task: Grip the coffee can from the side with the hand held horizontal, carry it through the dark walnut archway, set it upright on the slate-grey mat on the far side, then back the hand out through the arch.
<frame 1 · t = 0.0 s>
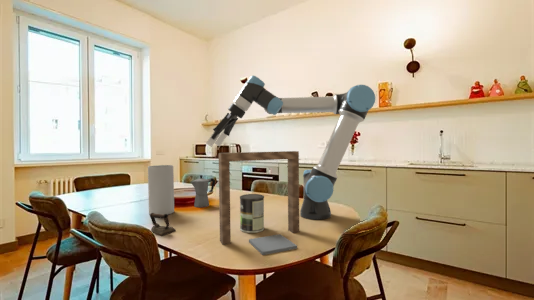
hand: (213, 145, 124), 36 cm above the table, tool tilted 35°, fingers open, 13 cm apart
clothes iron: (160, 232, 113), on the table
cylinder vase: (161, 213, 143), on the table
walnut archway: (261, 236, 105), on the table
coffee can: (252, 229, 114), on the table
slate mat: (272, 245, 96), on the table
coffeepot: (203, 205, 160), on the table
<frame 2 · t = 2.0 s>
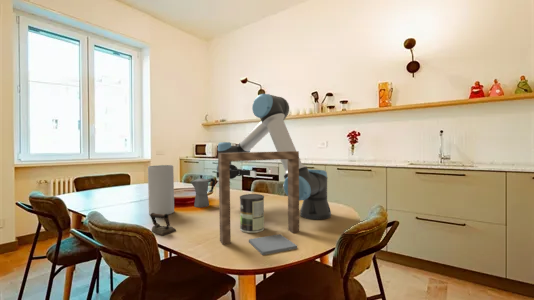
hand: (242, 175, 125), 21 cm above the table, tool horizontal, fingers open, 13 cm apart
nothing on the table moved.
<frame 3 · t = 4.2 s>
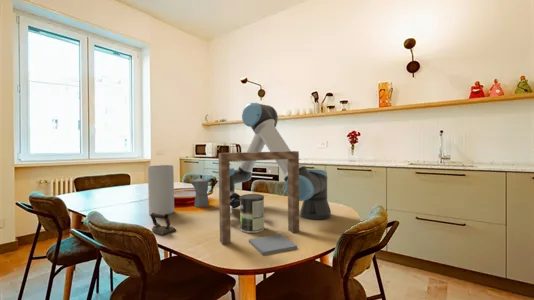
hand: (246, 208, 120), 7 cm above the table, tool horizontal, fingers open, 13 cm apart
nothing on the table moved.
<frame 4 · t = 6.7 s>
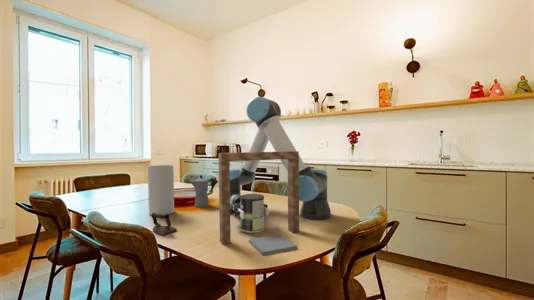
hand: (255, 213, 110), 8 cm above the table, tool horizontal, fingers closed on coffee can, 10 cm apart
coffee can: (252, 229, 114), on the table, touching gripper
everything else where it was.
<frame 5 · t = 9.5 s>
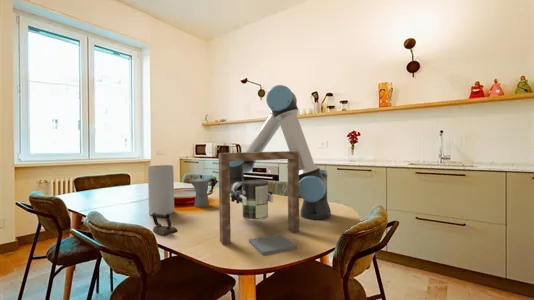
hand: (259, 200, 101), 15 cm above the table, tool horizontal, fingers closed on coffee can, 10 cm apart
coffee can: (255, 217, 106), point 7 cm above the table, touching gripper
everything else where it was.
when the fingers open (10 cm above the table, at t = 12.6 s): coffee can drops 1 cm, resting on slate mat.
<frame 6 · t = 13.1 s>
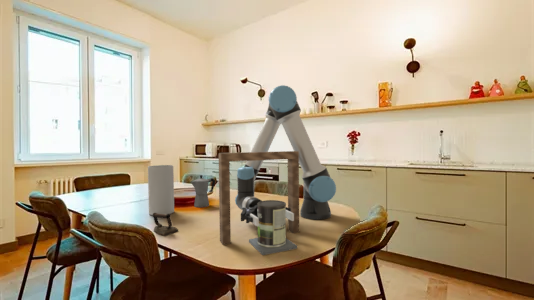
hand: (275, 219, 93), 10 cm above the table, tool horizontal, fingers open, 13 cm apart
coffee can: (271, 242, 96), point 1 cm above the table, touching slate mat
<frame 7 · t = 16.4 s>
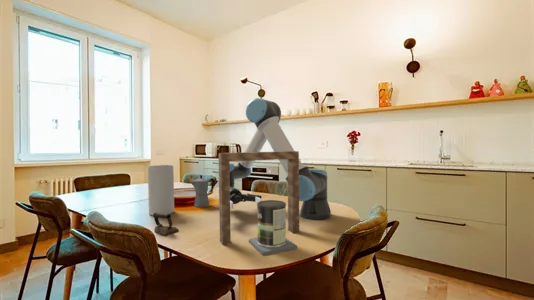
hand: (247, 203, 117), 10 cm above the table, tool horizontal, fingers open, 13 cm apart
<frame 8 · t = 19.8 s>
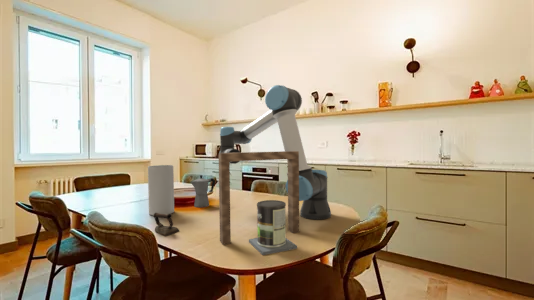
hand: (246, 157, 120), 30 cm above the table, tool horizontal, fingers open, 13 cm apart
at the end: coffee can inside the target area on the slate mat (0.1 cm from its centre), point 0.8 cm above the slate mat's base; coffee can tilted 0°; the gripper is holding nothing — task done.
